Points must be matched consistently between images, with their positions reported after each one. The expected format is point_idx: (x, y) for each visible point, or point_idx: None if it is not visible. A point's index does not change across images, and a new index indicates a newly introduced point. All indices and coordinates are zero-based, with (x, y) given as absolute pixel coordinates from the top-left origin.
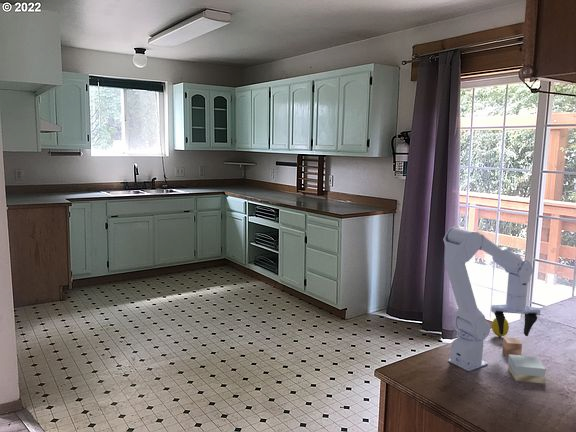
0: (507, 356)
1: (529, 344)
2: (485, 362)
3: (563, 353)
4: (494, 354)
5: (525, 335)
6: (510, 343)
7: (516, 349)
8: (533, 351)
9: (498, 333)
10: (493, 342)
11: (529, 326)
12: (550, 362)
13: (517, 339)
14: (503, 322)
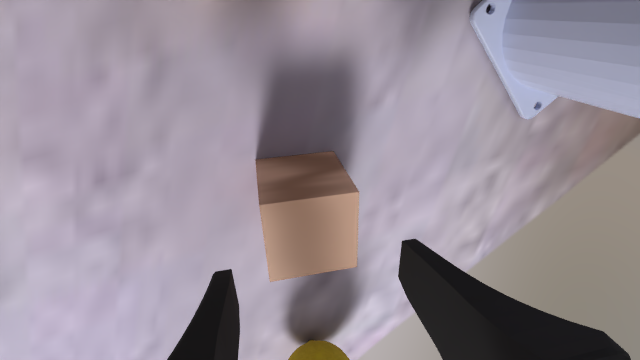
0: (327, 154)
1: (185, 325)
2: (486, 18)
3: (3, 291)
4: (384, 165)
5: (232, 276)
6: (337, 194)
7: (289, 179)
8: (173, 261)
9: (329, 346)
10: (350, 288)
11: (200, 344)
12: (81, 153)
13: (276, 265)
14: (482, 308)
